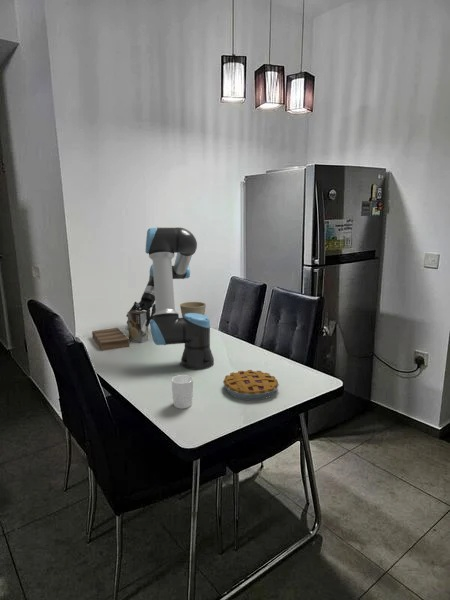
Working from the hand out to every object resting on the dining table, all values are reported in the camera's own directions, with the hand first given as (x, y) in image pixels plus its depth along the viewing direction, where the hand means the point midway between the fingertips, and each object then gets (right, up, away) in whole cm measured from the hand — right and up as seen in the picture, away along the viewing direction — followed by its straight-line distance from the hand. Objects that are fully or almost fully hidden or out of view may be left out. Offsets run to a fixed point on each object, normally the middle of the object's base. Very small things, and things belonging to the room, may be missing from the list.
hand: (134, 330), depth 219 cm
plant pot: (+29, -2, +23) cm, 37 cm away
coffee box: (+1, -6, +4) cm, 7 cm away
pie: (+58, -20, -56) cm, 83 cm away
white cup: (+33, -22, -69) cm, 80 cm away
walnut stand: (-13, -6, +1) cm, 15 cm away
